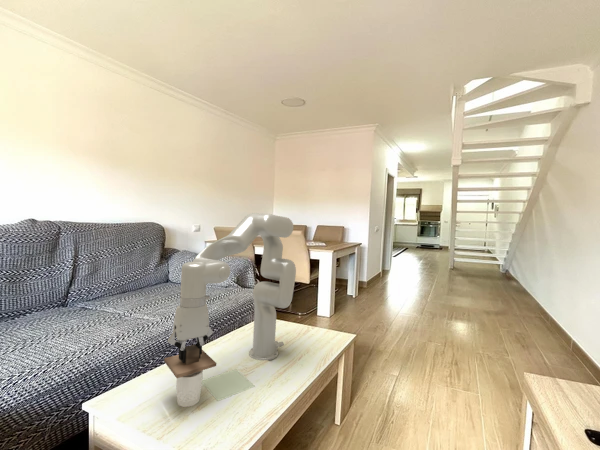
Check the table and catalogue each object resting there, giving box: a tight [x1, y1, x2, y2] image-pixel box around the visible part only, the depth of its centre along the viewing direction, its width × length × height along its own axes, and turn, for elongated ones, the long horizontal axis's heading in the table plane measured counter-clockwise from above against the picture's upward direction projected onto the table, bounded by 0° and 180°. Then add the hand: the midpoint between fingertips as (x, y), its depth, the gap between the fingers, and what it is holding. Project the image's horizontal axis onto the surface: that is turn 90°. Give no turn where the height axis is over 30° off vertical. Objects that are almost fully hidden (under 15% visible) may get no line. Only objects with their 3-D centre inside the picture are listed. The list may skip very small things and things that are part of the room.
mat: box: [202, 368, 256, 402], centre depth 101 cm, size 14×14×1 cm
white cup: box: [176, 370, 204, 408], centre depth 91 cm, size 8×8×10 cm
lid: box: [163, 343, 217, 379], centre depth 91 cm, size 12×12×5 cm
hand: (190, 358), depth 91 cm, fingers closed on lid, 4 cm apart
